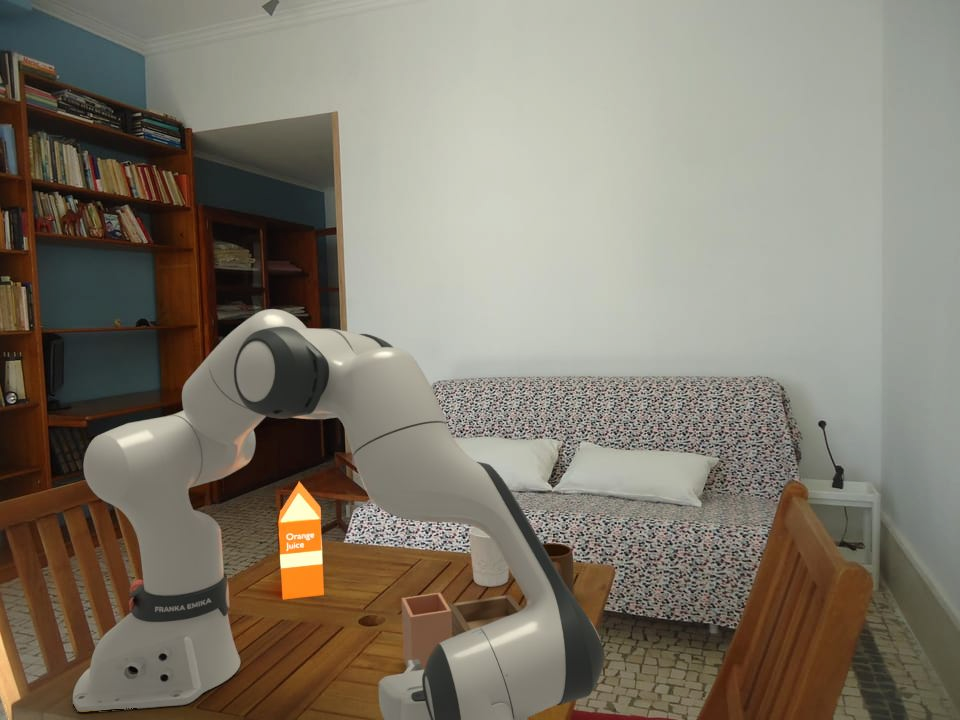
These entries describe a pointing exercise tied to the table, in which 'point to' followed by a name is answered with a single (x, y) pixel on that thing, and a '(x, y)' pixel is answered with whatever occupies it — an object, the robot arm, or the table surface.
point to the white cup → (487, 560)
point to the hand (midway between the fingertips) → (448, 658)
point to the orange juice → (301, 546)
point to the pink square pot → (424, 625)
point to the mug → (562, 562)
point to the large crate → (481, 612)
